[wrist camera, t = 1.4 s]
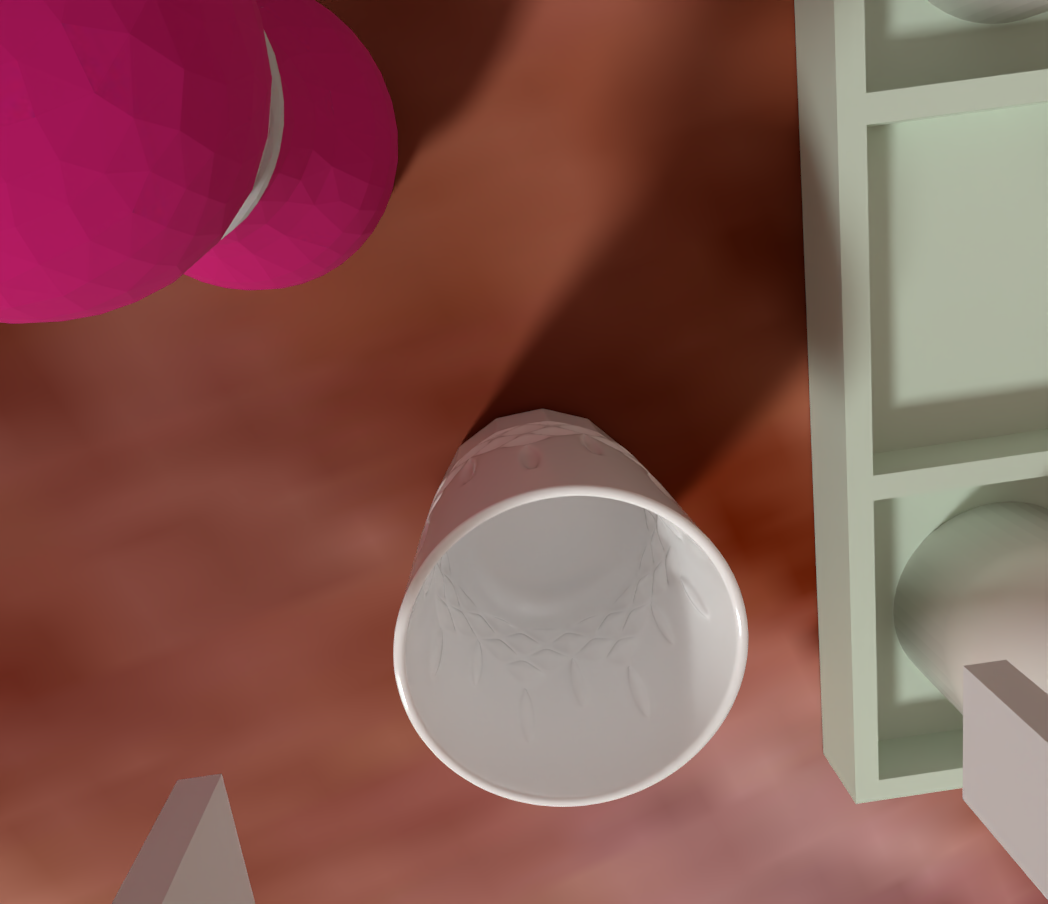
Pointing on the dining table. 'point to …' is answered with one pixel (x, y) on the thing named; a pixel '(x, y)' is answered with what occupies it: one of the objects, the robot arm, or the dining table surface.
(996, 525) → the white capsule
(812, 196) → the caddy
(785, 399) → the dining table surface
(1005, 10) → the white round cylinder
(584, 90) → the dining table surface
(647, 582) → the white cup
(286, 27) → the pepper mill
